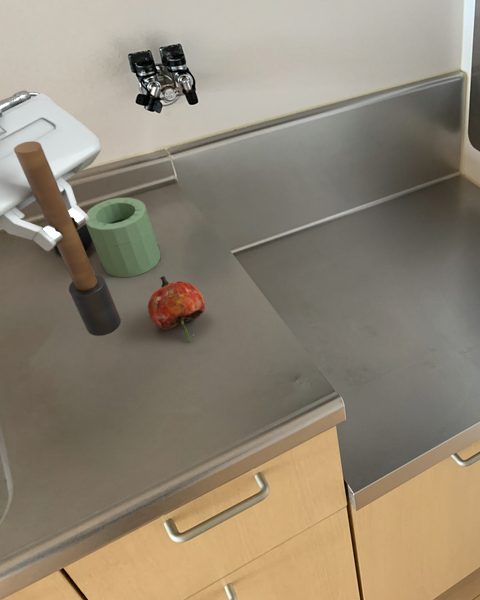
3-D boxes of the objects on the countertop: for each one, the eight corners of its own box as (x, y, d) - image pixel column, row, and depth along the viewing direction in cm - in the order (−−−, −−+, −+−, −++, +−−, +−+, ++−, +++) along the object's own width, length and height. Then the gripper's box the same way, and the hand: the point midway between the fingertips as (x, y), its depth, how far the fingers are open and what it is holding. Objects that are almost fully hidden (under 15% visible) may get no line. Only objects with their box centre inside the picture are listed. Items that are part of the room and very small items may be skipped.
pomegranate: (219, 337, 88) (199, 273, 89) (210, 330, 80) (188, 260, 82) (167, 354, 86) (147, 288, 88) (153, 348, 79) (132, 277, 80)
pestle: (88, 339, 67) (4, 159, 53) (85, 319, 70) (5, 141, 55) (122, 330, 68) (49, 151, 54) (119, 310, 71) (48, 134, 56)
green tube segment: (106, 283, 93) (86, 234, 87) (101, 252, 99) (82, 205, 93) (164, 268, 96) (149, 220, 90) (156, 239, 102) (141, 192, 96)
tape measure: (89, 258, 98) (81, 239, 95) (47, 257, 98) (38, 238, 96) (106, 233, 103) (99, 215, 101) (66, 232, 103) (58, 214, 101)
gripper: (25, 102, 66) (126, 197, 70) (-163, 196, 51) (-23, 310, 55) (42, 66, 62) (148, 169, 66) (-157, 158, 47) (-6, 283, 51)
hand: (69, 235), depth 60 cm, fingers closed on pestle, 2 cm apart
